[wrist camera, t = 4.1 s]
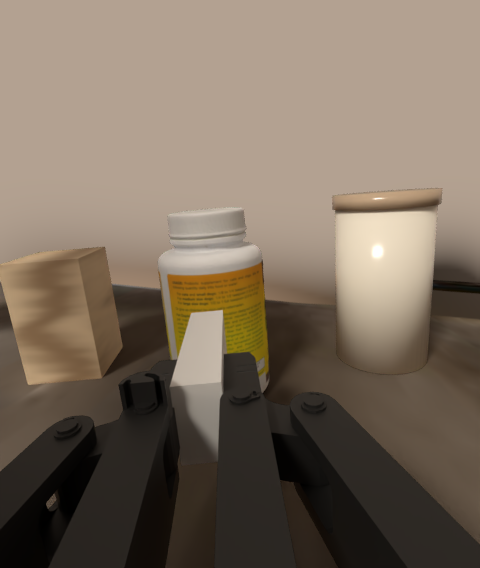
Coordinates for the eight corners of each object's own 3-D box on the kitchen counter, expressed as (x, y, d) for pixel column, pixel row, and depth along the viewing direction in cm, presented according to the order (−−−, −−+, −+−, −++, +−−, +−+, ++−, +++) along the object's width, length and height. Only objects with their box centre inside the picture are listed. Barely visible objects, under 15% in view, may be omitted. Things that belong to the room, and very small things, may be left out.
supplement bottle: (290, 392, 24) (281, 205, 21) (198, 430, 21) (171, 217, 18) (240, 356, 30) (228, 206, 27) (163, 381, 27) (138, 215, 24)
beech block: (28, 384, 28) (-4, 265, 26) (61, 352, 34) (38, 252, 32) (101, 378, 28) (77, 258, 26) (122, 347, 34) (104, 246, 32)
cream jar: (316, 357, 29) (313, 197, 26) (358, 329, 34) (360, 192, 31) (409, 387, 24) (420, 192, 20) (442, 348, 29) (455, 186, 25)
